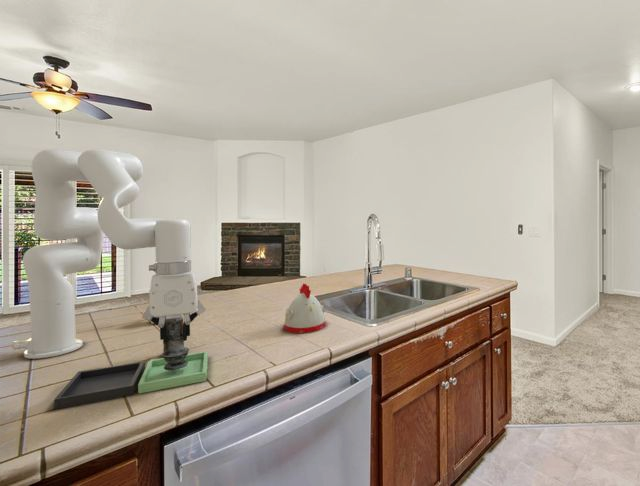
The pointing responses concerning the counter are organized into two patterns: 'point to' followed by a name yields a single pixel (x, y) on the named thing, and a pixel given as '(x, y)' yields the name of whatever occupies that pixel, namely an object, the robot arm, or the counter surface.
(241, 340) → the counter surface
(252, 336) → the counter surface
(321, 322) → the kitchen timer
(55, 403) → the dark tray
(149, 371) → the pale tray
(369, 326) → the counter surface
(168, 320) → the pepper shaker
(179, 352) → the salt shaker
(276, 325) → the counter surface
